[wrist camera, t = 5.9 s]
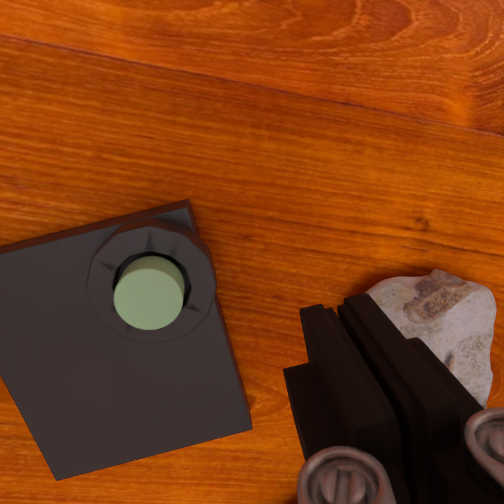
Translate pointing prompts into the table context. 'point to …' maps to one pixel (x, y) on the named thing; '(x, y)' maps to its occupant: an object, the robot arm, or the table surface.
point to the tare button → (149, 293)
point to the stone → (445, 322)
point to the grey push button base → (115, 345)
